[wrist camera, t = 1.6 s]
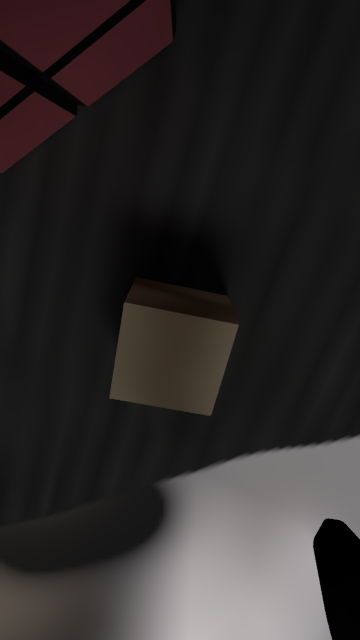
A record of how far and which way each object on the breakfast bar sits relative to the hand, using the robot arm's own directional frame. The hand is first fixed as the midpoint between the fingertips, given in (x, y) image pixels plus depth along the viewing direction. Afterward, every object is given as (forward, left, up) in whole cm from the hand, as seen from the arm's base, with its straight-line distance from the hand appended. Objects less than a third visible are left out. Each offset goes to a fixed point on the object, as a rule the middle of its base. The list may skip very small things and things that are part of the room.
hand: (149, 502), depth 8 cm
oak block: (0, 0, -11) cm, 11 cm away
